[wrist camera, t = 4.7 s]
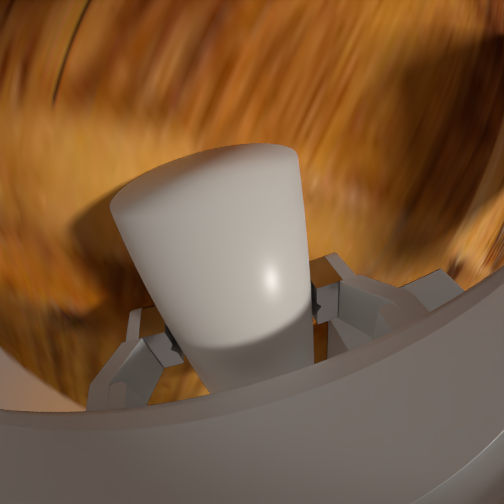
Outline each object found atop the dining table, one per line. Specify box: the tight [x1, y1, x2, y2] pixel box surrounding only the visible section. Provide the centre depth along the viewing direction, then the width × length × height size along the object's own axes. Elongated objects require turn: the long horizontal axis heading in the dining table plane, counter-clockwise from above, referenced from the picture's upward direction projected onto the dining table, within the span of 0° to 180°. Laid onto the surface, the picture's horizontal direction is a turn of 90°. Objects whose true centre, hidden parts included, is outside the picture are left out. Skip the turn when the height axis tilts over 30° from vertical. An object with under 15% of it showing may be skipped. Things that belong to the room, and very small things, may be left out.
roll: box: [109, 143, 314, 394], centre depth 10 cm, size 10×5×5 cm, turn 11°
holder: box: [327, 269, 464, 359], centre depth 17 cm, size 16×9×7 cm, turn 11°
